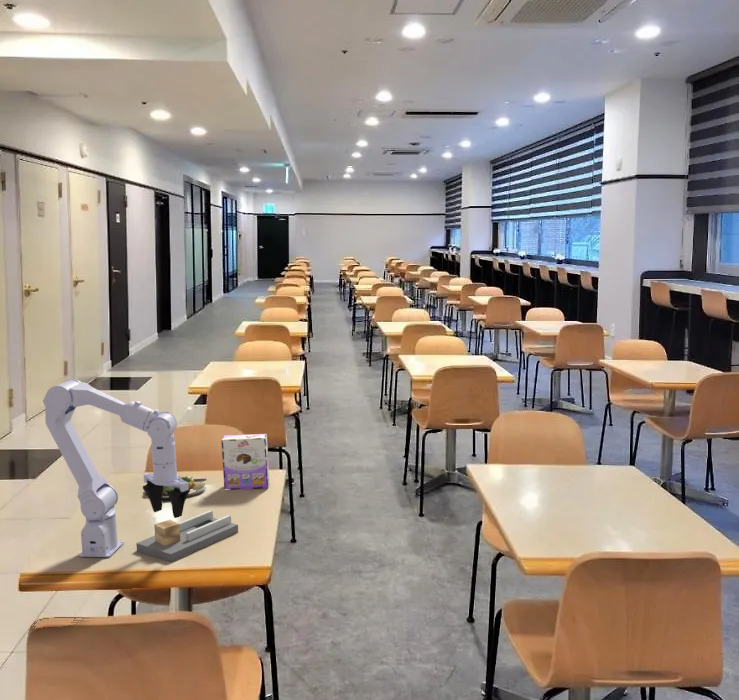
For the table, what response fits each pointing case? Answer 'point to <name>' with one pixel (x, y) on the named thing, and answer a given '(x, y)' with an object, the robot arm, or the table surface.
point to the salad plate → (192, 484)
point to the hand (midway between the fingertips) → (167, 513)
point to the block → (167, 532)
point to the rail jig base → (191, 536)
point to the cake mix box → (245, 461)
